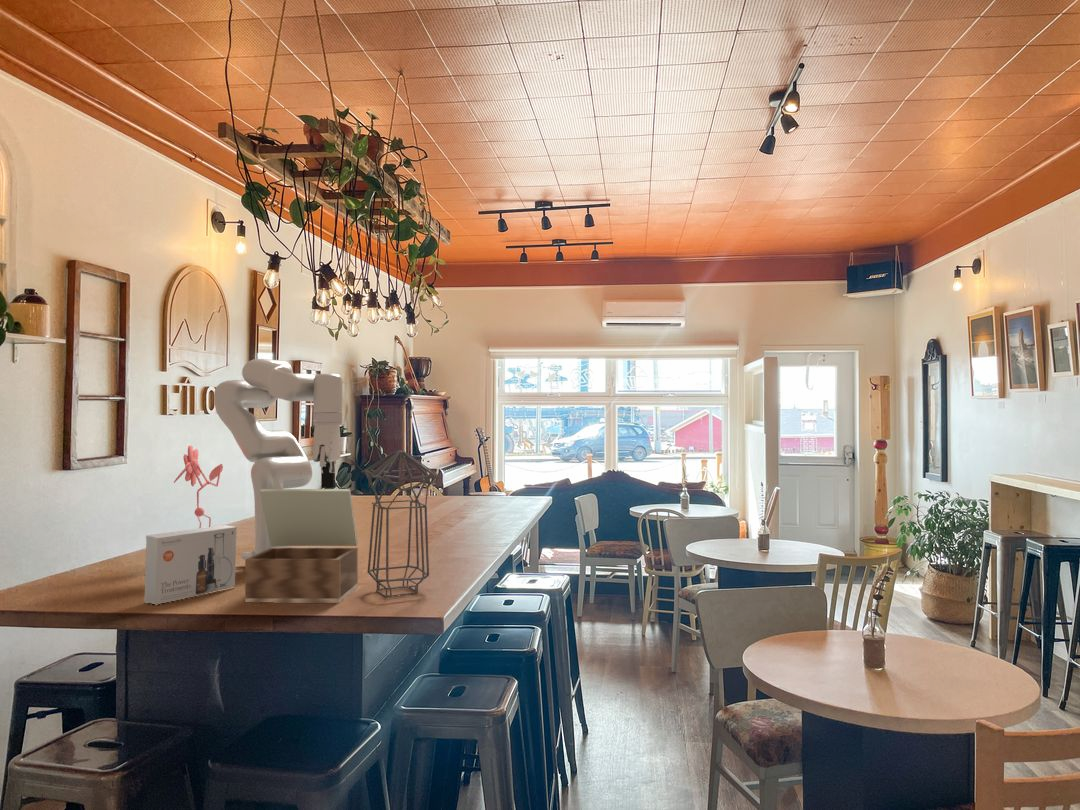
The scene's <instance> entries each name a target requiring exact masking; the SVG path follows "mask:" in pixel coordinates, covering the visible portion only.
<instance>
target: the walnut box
mask: <svg viewBox="0 0 1080 810" xmlns="http://www.w3.org/2000/svg"><path fill="white" fill-rule="evenodd" d="M358 554H359V553H358V547H289V548H270V549H268V550H265V551H263V552H261V553H259V554H257V555H255V556H252V557H250V558H248V559H244V561H245V562H244V564H245V566H244V567H245V569H244V570H245V571H244V572H245V573H244V575H245V576H244V577H245V580H244V581H245V583H244V586H245V588H244V590H245V594H244V595H245V597H244V599H245V600H244V601H245V602H274V603H273V604H284V603H286V604H289V603H290V604H294V603H295V604H297V603H298V604H302V603H304V604H308V603H309V604H316V603H317V604H320V603H322V604H339V603H341V602H342V601H343V600H344V599H346V598H347V597H348V596H349V595H350V594H352V593H353V591H355V590H356V589H357V588H358V587H359V585H358V584H359V583H358V579H359V578H358V577H359V576H358V575H359V574H358V572H359V571H358V570H359V567H358V565H359V564H358V560H359V559H358V556H359V555H358Z"/></svg>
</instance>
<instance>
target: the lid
mask: <svg viewBox="0 0 1080 810" xmlns="http://www.w3.org/2000/svg"><path fill="white" fill-rule="evenodd" d="M260 495H261V500H262V505H263V510H264V515H265V521H266V526H267V531H268V536H269V541H270V546H289V547H357V545H358V536H357V530H356V529H357V528H356V522H355V515H354V508H353V502H352V501H353V500H352V494H351V488H297V489H296V488H288V489H261V490H260Z"/></svg>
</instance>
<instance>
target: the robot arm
mask: <svg viewBox="0 0 1080 810" xmlns="http://www.w3.org/2000/svg"><path fill="white" fill-rule="evenodd" d="M241 374H242V378H243V379H231V380H230V379H228V380H225V381H223V382H220V383H219V384H217V386H216V387H215V388H214V391H213V403H214V408H215V411H216V413H217V415H218V417H219V418H220V419H219V420H221V421H222V423H223V424H224V425H225V426H226V427H227V428H228V430H229V431H230V433H231V435H232V437H233V438H234V440H235V442H236V444H237V446H238V447H239V448H240V450H241V453H242V454H243V456H244V458H246V460H248V461H249V462H250V463H253V465H252V467H251V469H250V478H251V483H252V484H251V485H252V488H253V497H254V550H253V551H251V552H250V551H245V552H244V551H242V552H241V554H240V555H241V556H240V557H241V559H242V560H246V559H248V558H250V557H252V556H255V555H257V554H259V553H261V552H263V551H265V550H268V549H270V548H290V546H270V541H269V536H268V531H267V526H266V521H265V515H264V510H263V505H262V500H261V495H260V490H261V489H296V488H297V489H298V488H302V487H305V486H307V485H308V484H310V482H311V481H312V479H313V478H312V477H313V468H312V465H311V462H310V460H309V458H308V457H307V455H306V453H305V452H304V450H303V448H302V446H301V445H300V443H299V442H298V440H297V438H296V437H295V436H294V435H293V434H291V433H290V432H288V431H286V430H270V429H269V430H267V429H265V428H264V427H263V425H262V424H261V422H260V421H259V419H258V418H257V417H256V416H255V415H254V414H253V413H252V412H250V411H249V410H247V409H248V408H249V409H261V408H262V409H263V408H265V409H266V408H268V407H271V406H272V405H274V404H275V402H277V400H278V399H279V400H284V401H289V402H313V426H314V430H313V439H312V440H313V443H312V444H313V445H312V460H313V462H315V463H317V462H319V467H320V473H321V475H320V477H321V479H320V481H321V482H320V484H321V489H335V487H336V465H337V461H339V460H340V459H341V454H342V451H341V449H342V447H341V445H342V443H341V430H340V426H341V425H343V377H342V376H341V375H340V374H337V373H318V374H312V373H311V374H310V373H294V370H293V368H292V366H291V364H289V362H287V361H285V360H282V359H281V360H280V359H270V358H269V359H267V358H266V359H265V358H254V359H251V360H248V361H247V362H246V363H245V364H244V365H243V367H242V369H241ZM246 408H247V409H246Z"/></svg>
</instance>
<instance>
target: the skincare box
mask: <svg viewBox="0 0 1080 810" xmlns="http://www.w3.org/2000/svg"><path fill="white" fill-rule="evenodd" d="M237 531H238V530H237V526H234V525H233V526H232V525H227V524H223V525H215V526H210V527H209V526H207V527H201V528H199V527H198V528H192V529H185V530H179V531H171V532H163V533H162V532H161V533H155V534H148V535H145V540H146V541H145V542H146V544H145V545H146V546H145V566H144V567H145V568H144V598H143V602H147V603H146V604H148V603H152V604H160V603H165V602H169V603H171V602H170V601H174V602H176V601H175V600H179V599H183V598H187V597H192V596H196V595H201V594H205V593H209V592H213V591H218V590H222V589H227V588H231V587H234V586H235V587H236V563H237V562H236V555H237ZM183 600H184V599H183ZM179 601H180V600H179ZM152 604H151V605H152ZM165 604H166V603H165ZM160 605H161V604H160Z"/></svg>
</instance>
